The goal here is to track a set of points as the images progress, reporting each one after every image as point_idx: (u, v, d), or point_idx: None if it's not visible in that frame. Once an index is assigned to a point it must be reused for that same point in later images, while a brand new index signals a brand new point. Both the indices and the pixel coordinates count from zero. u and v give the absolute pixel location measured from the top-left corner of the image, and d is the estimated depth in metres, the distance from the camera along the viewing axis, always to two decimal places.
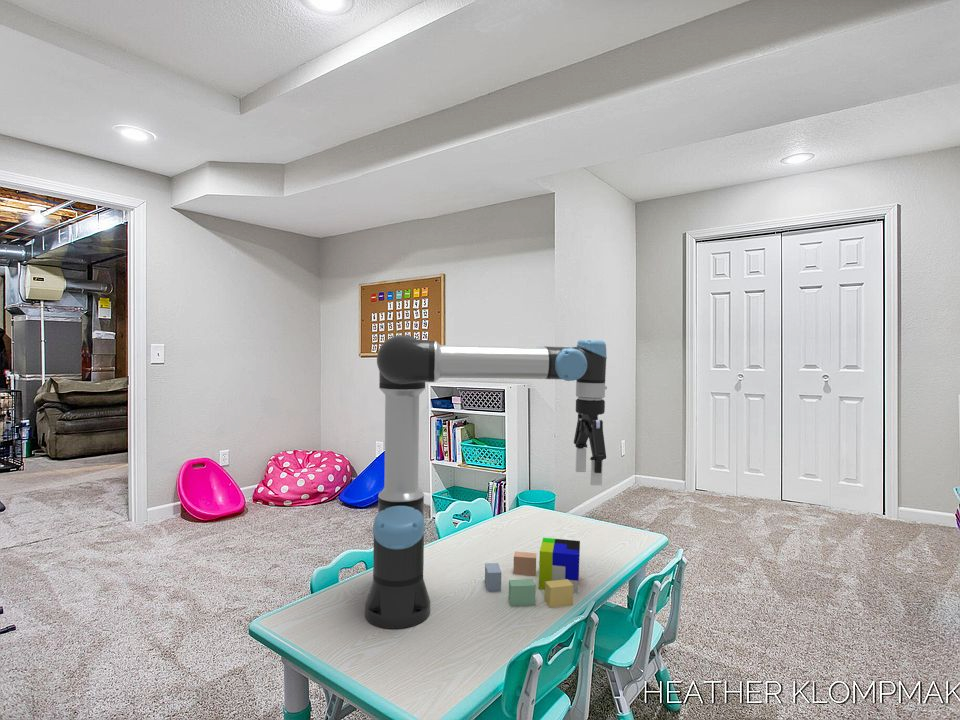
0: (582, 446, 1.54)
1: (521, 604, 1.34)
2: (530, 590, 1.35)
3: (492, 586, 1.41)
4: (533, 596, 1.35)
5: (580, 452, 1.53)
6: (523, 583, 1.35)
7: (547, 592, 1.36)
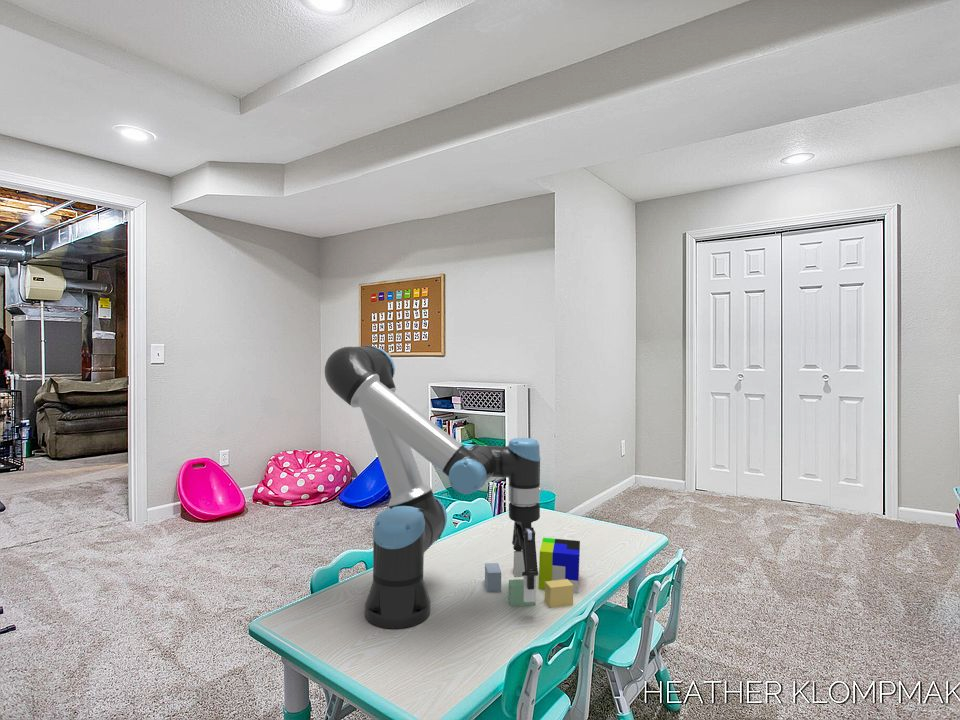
0: (521, 548, 1.43)
1: (521, 604, 1.34)
2: None
3: (492, 586, 1.41)
4: None
5: (518, 555, 1.42)
6: (523, 583, 1.35)
7: (547, 592, 1.36)
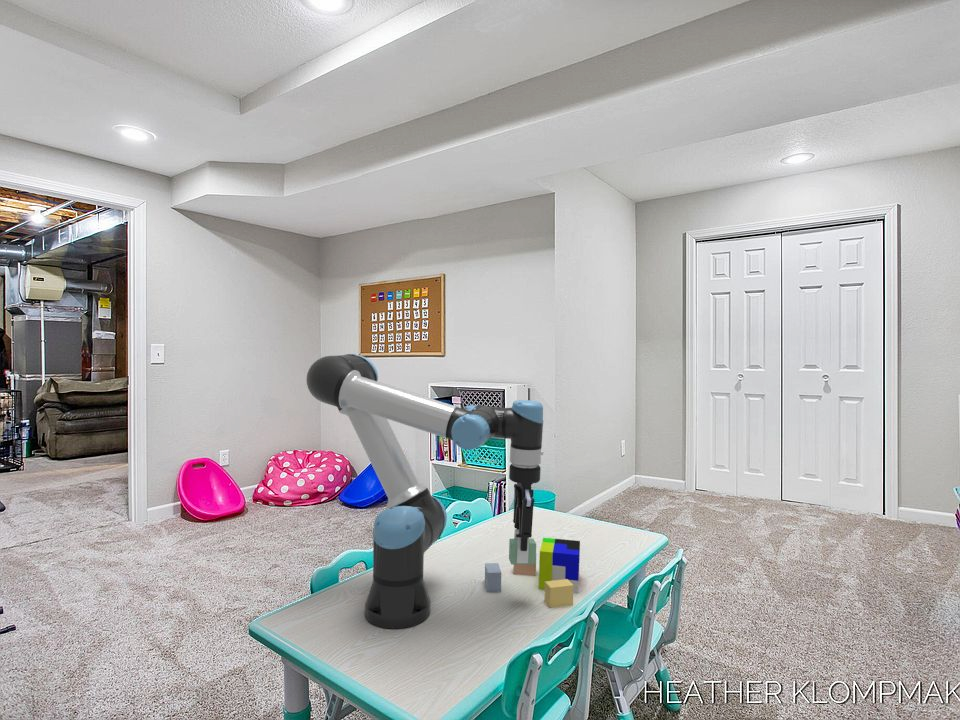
0: None
1: None
2: (531, 549, 1.34)
3: (492, 586, 1.41)
4: (534, 554, 1.34)
5: None
6: None
7: (547, 592, 1.36)
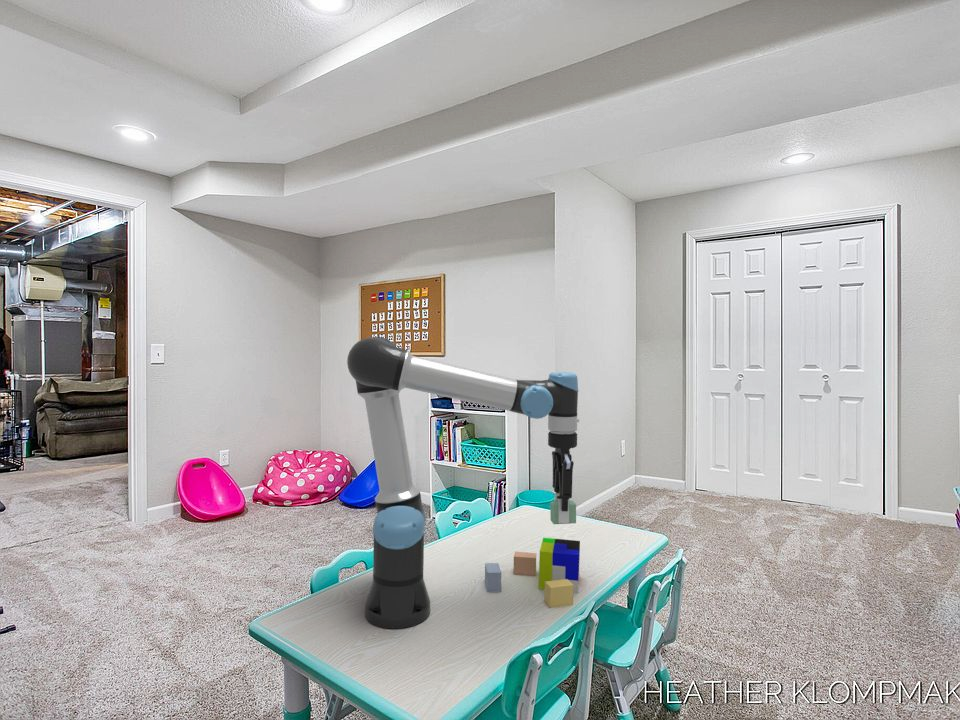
0: None
1: None
2: (571, 509, 1.44)
3: (492, 586, 1.41)
4: (574, 514, 1.45)
5: None
6: None
7: (547, 592, 1.36)
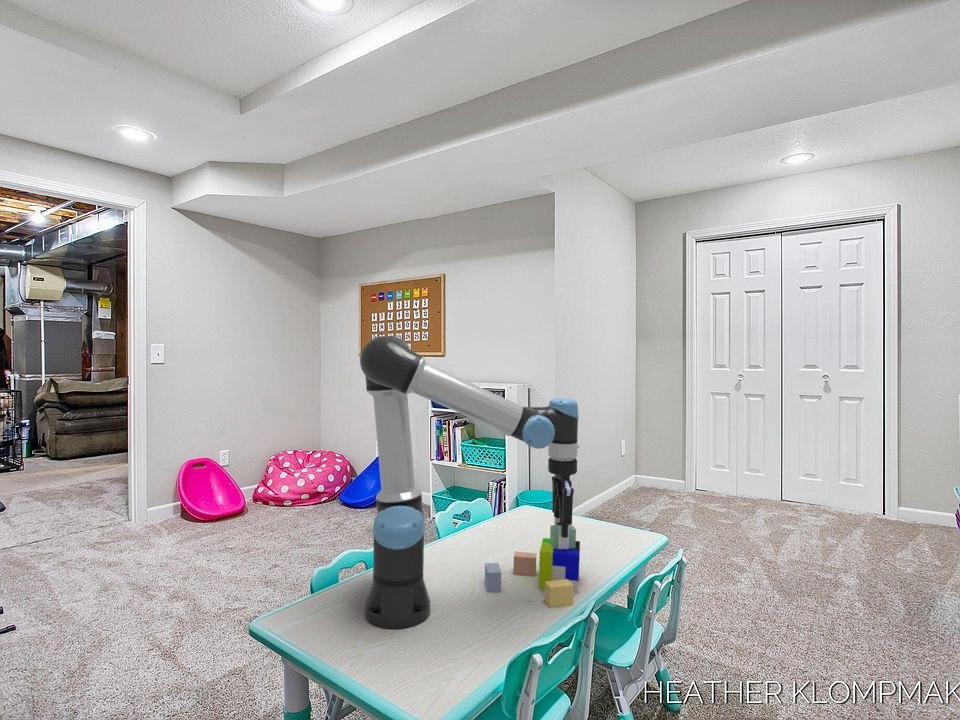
0: None
1: None
2: (571, 534, 1.45)
3: (492, 586, 1.41)
4: (573, 539, 1.46)
5: None
6: None
7: (547, 592, 1.36)
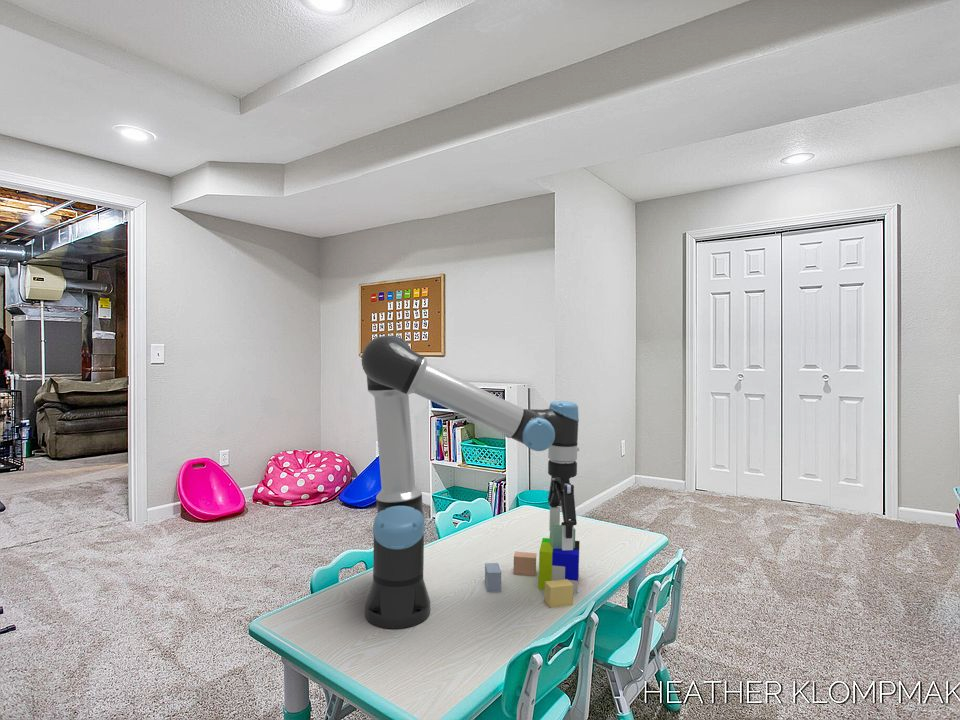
0: (556, 505, 1.54)
1: None
2: None
3: (492, 586, 1.41)
4: (573, 539, 1.46)
5: (554, 511, 1.53)
6: None
7: (547, 592, 1.36)
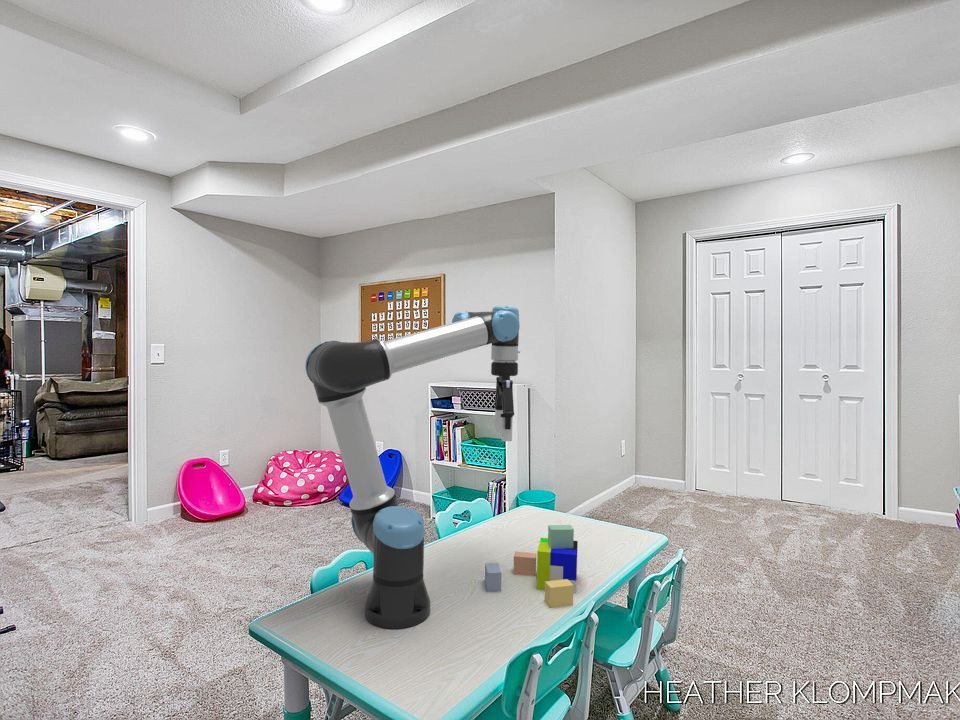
0: (501, 408, 1.64)
1: (560, 547, 1.45)
2: (568, 534, 1.45)
3: (492, 586, 1.41)
4: (571, 539, 1.46)
5: (499, 413, 1.63)
6: (562, 528, 1.46)
7: (547, 592, 1.36)
